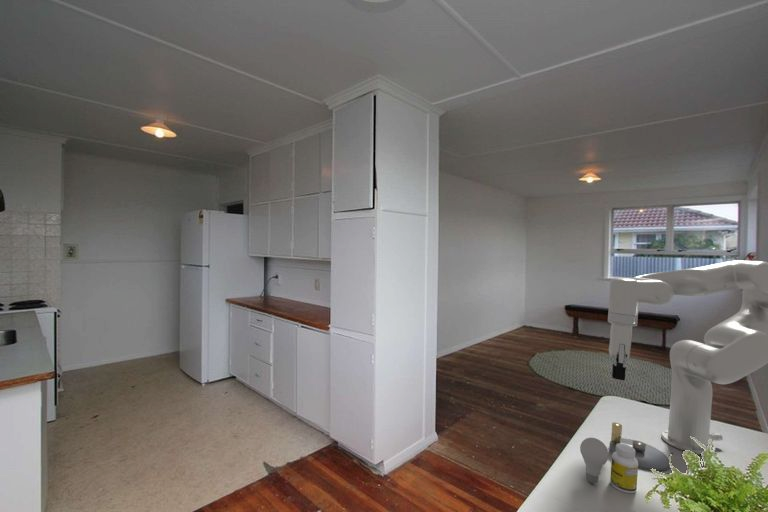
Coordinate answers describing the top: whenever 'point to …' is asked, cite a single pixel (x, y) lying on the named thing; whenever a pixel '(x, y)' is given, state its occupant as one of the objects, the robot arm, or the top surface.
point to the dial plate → (647, 456)
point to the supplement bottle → (624, 468)
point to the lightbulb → (594, 457)
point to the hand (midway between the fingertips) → (618, 378)
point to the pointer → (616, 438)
